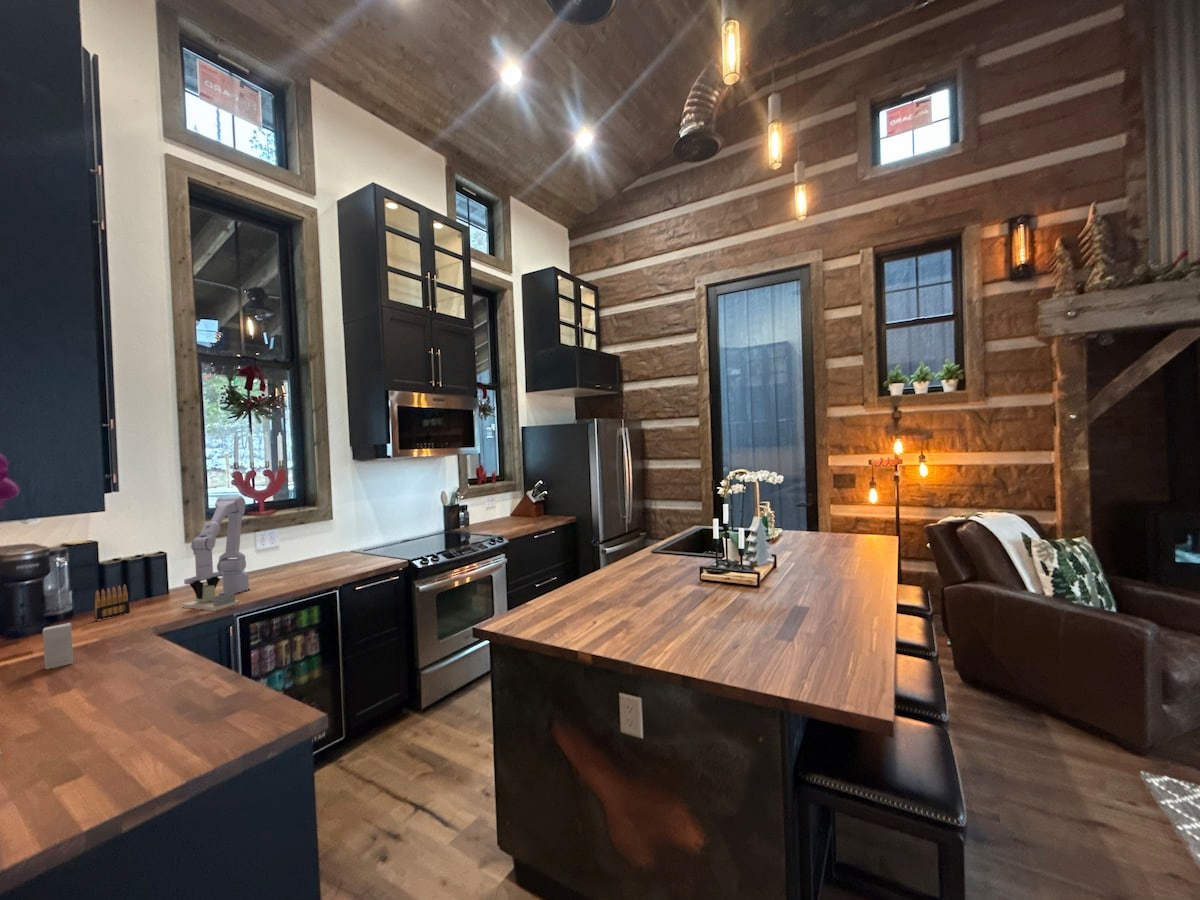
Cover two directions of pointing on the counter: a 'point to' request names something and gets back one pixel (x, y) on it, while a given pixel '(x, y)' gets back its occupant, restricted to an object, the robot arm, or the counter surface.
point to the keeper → (207, 593)
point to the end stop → (224, 599)
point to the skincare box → (57, 645)
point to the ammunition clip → (111, 603)
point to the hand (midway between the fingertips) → (205, 597)
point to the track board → (207, 605)
